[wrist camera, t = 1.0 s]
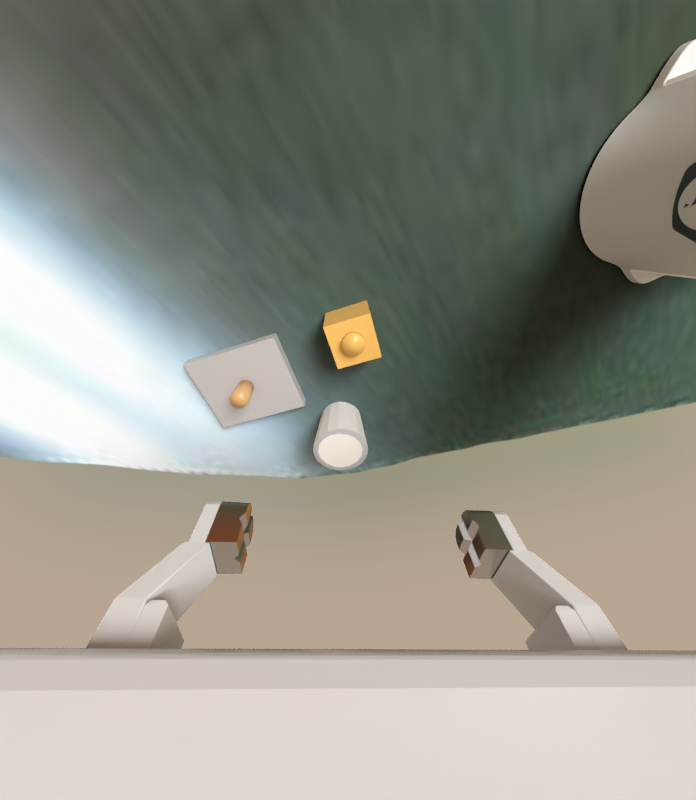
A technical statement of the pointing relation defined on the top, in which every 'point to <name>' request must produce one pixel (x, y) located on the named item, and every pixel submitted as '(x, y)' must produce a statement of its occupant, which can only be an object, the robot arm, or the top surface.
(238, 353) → the flat gray block
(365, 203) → the top surface
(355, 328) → the cube with dome knob
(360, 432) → the white cylinder
